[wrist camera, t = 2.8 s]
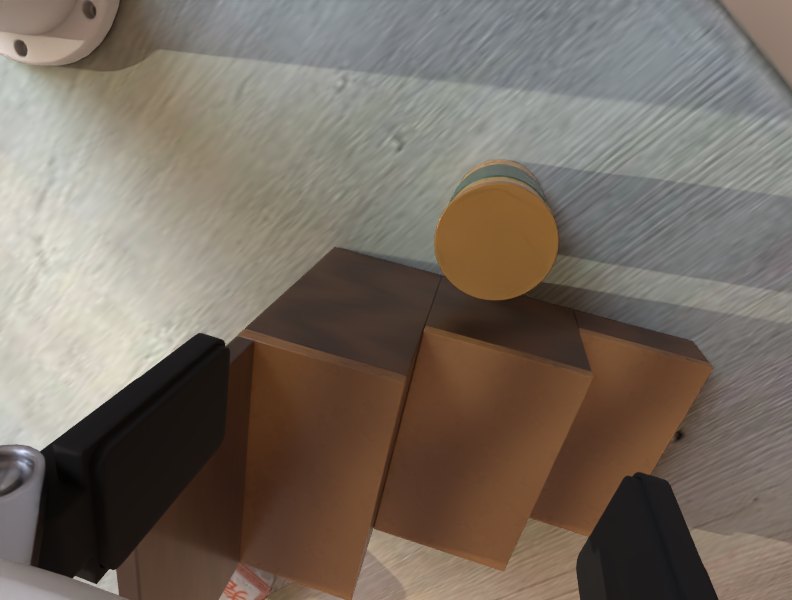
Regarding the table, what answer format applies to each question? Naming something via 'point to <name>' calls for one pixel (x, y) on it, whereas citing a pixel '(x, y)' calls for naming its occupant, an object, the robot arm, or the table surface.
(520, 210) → the tin
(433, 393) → the step shelf
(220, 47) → the table surface
